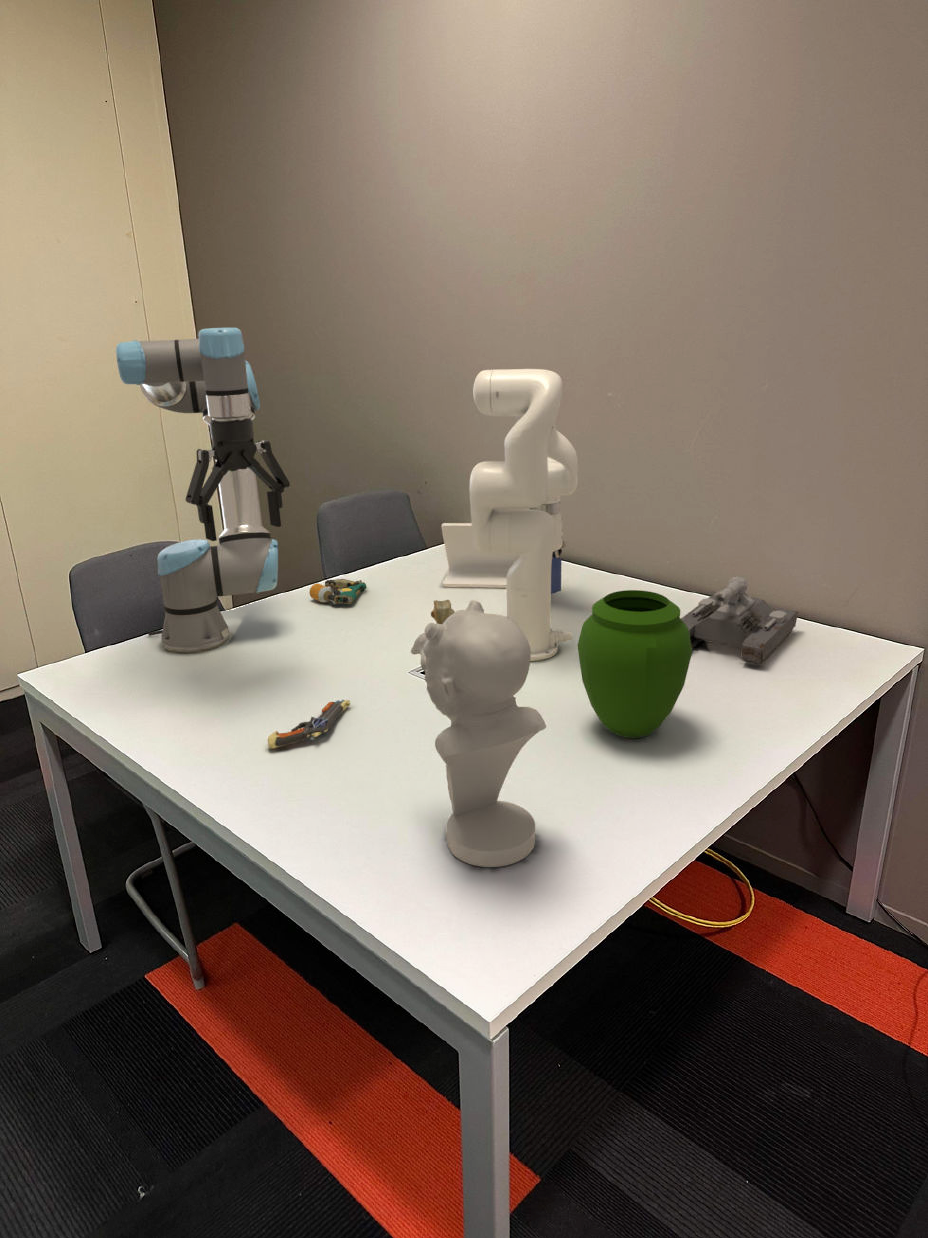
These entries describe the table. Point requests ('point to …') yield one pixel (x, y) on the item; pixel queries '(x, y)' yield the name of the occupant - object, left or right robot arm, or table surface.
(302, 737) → the toy gun
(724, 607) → the toy
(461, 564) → the tablet stand
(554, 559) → the block
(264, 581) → the left robot arm
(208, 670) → the table surface
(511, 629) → the bust sculpture
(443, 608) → the sculpture
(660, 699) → the vase
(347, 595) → the spray gun
